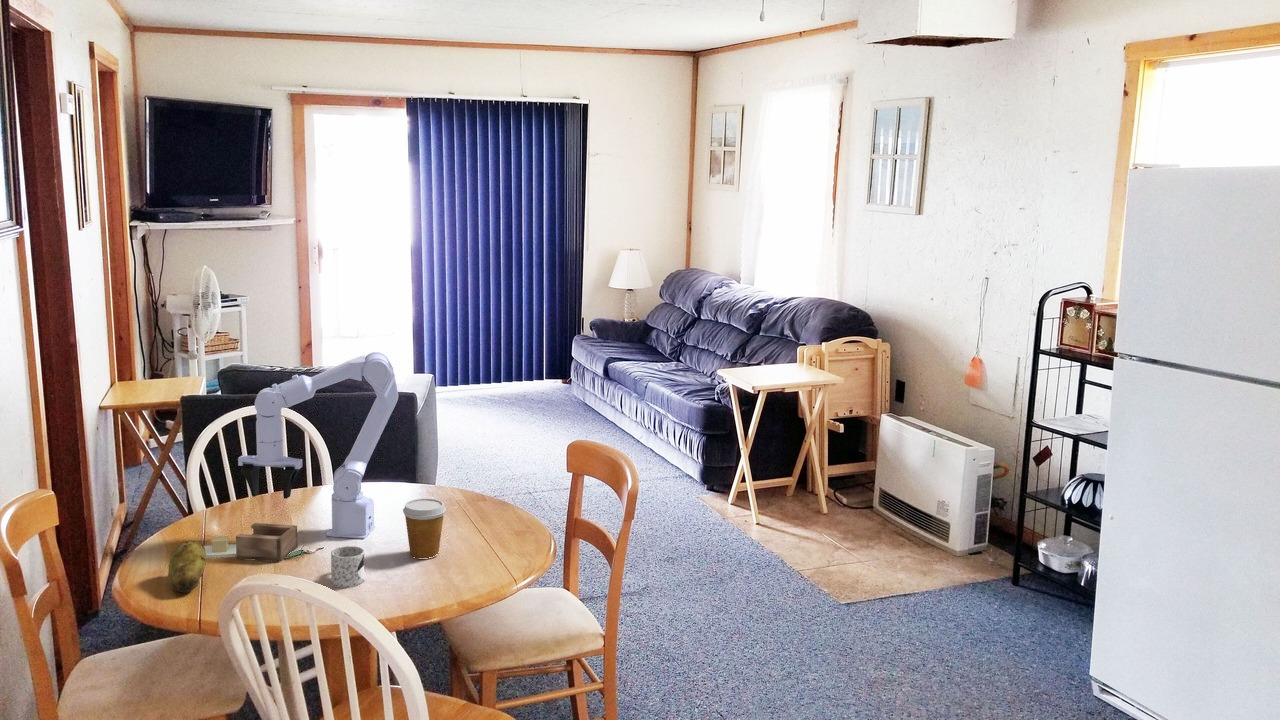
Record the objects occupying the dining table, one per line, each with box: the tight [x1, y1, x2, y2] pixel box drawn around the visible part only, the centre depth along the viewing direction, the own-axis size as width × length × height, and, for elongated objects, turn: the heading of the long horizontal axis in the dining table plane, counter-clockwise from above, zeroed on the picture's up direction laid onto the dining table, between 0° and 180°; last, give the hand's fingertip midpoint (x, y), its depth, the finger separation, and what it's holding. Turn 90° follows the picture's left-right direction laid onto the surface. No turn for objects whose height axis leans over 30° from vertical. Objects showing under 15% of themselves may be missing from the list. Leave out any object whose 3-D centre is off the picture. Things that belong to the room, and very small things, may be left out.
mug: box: [330, 545, 365, 589], centre depth 204 cm, size 10×7×7 cm, turn 21°
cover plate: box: [204, 535, 236, 559], centre depth 216 cm, size 8×6×4 cm
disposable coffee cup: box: [402, 498, 447, 559], centre depth 219 cm, size 10×10×12 cm
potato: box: [167, 540, 208, 594], centre depth 198 cm, size 8×13×8 cm, turn 3°
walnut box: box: [235, 522, 298, 563], centre depth 216 cm, size 10×9×5 cm
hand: (271, 496), depth 225 cm, fingers open, 7 cm apart
